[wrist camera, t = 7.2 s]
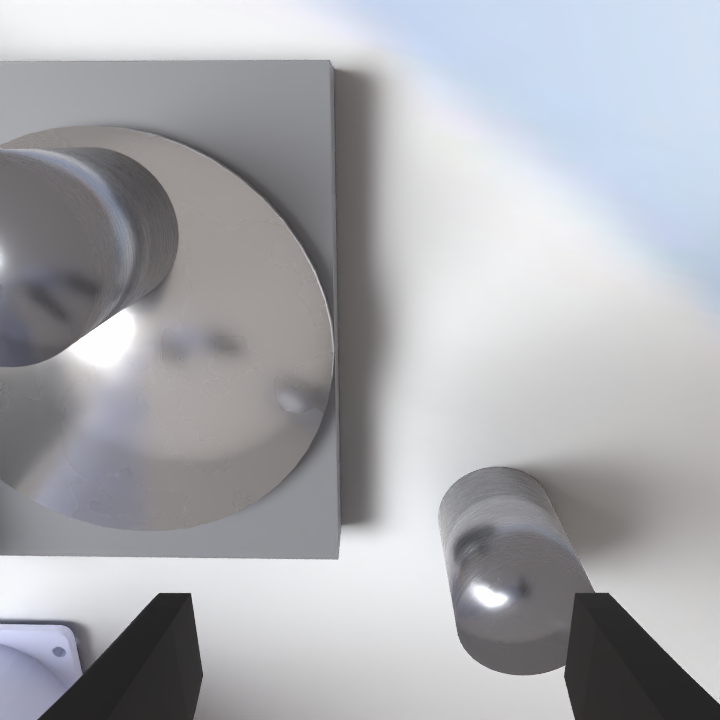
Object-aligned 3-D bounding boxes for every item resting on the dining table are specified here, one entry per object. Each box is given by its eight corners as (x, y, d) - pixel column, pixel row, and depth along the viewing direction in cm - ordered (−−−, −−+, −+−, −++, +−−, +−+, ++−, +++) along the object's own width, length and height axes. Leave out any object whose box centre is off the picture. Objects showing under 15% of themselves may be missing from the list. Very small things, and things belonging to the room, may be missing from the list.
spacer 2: (544, 562, 22) (590, 676, 17) (435, 560, 22) (452, 673, 17) (556, 467, 21) (610, 563, 16) (440, 466, 21) (460, 561, 16)
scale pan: (337, 522, 19) (336, 533, 19) (-27, 518, 20) (-39, 529, 19) (330, 125, 15) (329, 124, 15) (-133, 126, 15) (-152, 125, 15)
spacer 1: (188, 299, 16) (113, 364, 12) (44, 303, 16) (-87, 369, 12) (166, 144, 15) (71, 146, 10) (9, 149, 15) (-156, 155, 10)
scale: (340, 526, 22) (331, 639, 17) (-67, 521, 22) (-193, 631, 17) (334, 68, 16) (317, 38, 12) (-201, 70, 17) (-436, 42, 12)
